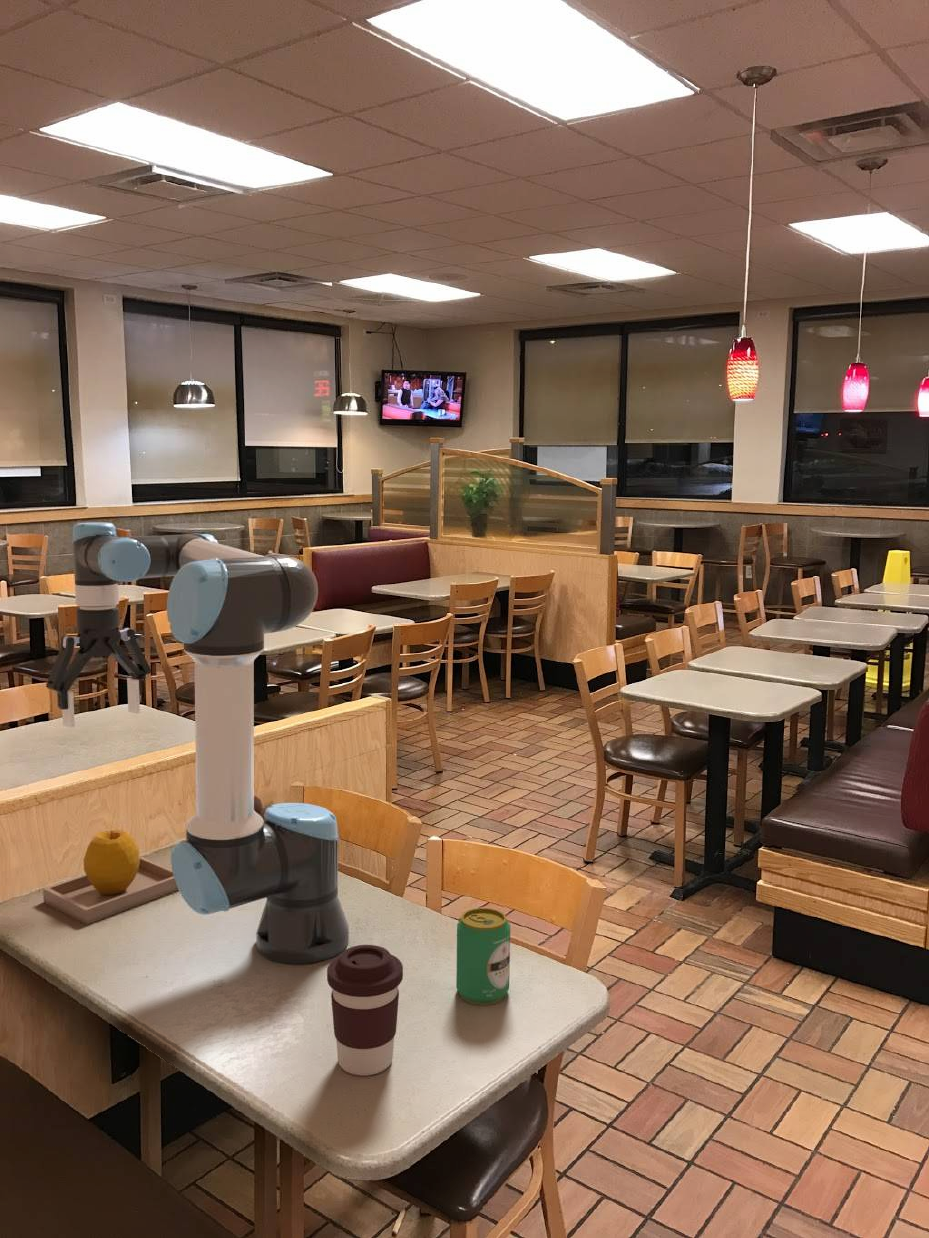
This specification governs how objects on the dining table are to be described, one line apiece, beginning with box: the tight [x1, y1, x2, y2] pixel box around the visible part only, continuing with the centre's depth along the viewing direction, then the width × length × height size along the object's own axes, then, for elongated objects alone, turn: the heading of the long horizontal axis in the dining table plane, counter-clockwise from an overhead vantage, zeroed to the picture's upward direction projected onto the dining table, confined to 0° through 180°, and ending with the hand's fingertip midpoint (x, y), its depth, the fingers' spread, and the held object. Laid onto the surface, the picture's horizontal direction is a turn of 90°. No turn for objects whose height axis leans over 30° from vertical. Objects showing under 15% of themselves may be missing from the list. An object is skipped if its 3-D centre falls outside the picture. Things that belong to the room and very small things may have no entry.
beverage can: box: [455, 907, 511, 1006], centre depth 152 cm, size 8×8×12 cm
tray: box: [42, 855, 179, 925], centre depth 186 cm, size 20×14×3 cm
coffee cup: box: [326, 944, 404, 1077], centre depth 134 cm, size 10×10×15 cm
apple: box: [83, 829, 141, 895], centre depth 185 cm, size 10×10×12 cm
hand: (102, 719), depth 190 cm, fingers open, 13 cm apart
